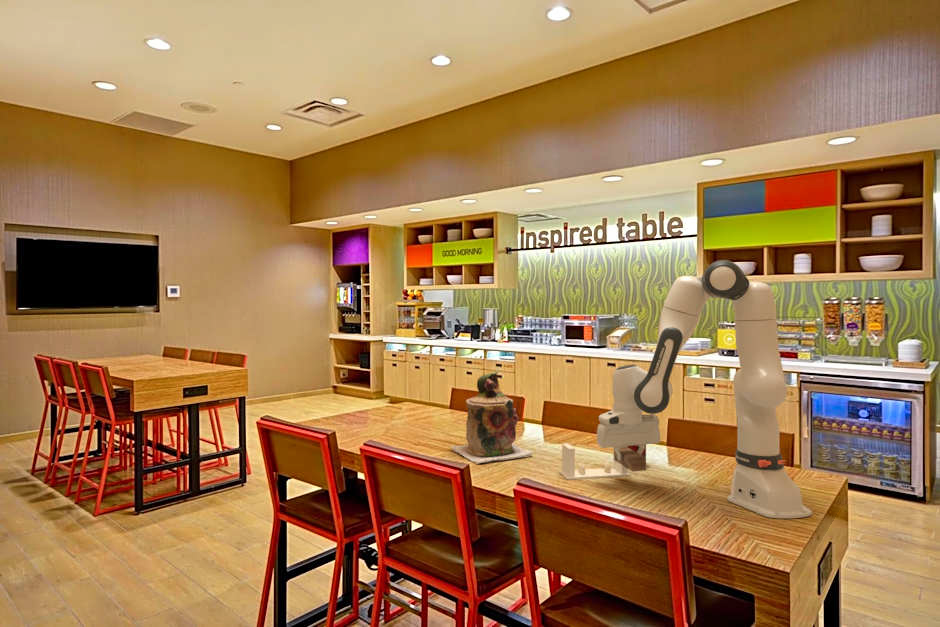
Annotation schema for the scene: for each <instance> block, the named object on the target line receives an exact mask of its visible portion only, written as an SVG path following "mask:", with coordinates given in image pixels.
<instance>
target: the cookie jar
mask: <svg viewBox="0 0 940 627" xmlns="http://www.w3.org/2000/svg"><path fill="white" fill-rule="evenodd" d="M497 374H498V370H497V369H496V370H495V371H494V372H491V373H486V374H484V375H481V376H479V377H478V379H477V381H476V389H477V391H478V394H477V395H476V396H474V397H471V398H467V399H466V400H465V405H466V407H467V408H468V409H467V420H466V424H465V426H466V427H465V428H466V431H465V432H466V434H465V437H466V438H465V440H466V442H467V444H461V445H453V446H450V447H451V448H450V449H451V450H452V451H453V452H455V453H456V454H457V453H458V454H459V455H460V456H461V455H462V456H461V457H463V456H464V457H463V458H465V459H466V460H469V461H470V462H472V463H474V462H475V463H474V464H476V463H477V464H476V465H479V464H481V463H484V464H485V463H488V462H489V463H490V462H493V461H505V460H513V459H520V458H529V457H531V456H532V454H533V453H534V451H533V450H532V449H531V450H530V449H525V448H522V447H520V446H517V445H516V444H515V443H514V442H515V440H516V435H517V431H516V426H517V424H518V422H519V417H518V414H517V408H516V407H514V399H512V398H509V397H508V396H507V395H506V394H505V393H504V392H502V390H501V388H500V384H499V379H498V375H497Z"/></svg>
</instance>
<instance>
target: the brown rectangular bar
mask: <svg viewBox="0 0 940 627" xmlns="http://www.w3.org/2000/svg"><path fill="white" fill-rule="evenodd" d="M619 452H620V453H621V454H623V455H624V460H620V461H619V460H618V458H617V453H616V452H615V450H614V449H613V461H614V460H615V461H617V462H618V463H620V464H621V465H623V466H624V467H626V468H628V470H629V471H631V472H641V471H642V472H643V471H644V472H645V471H647V456H646V457H644V456H642V455H640V454H639V453H637V452H635V451H633V450H632V449H630V448H628V447H620V450H619Z"/></svg>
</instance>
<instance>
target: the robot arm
mask: <svg viewBox="0 0 940 627" xmlns="http://www.w3.org/2000/svg"><path fill="white" fill-rule="evenodd" d="M712 298H714V299H715V298H717V299H727V300H729V301H731V303H732V305H733V312H734V330H735V331H734V333H735V347H736V348H735V349H736V351H737V355H738V360H739V367H740V368H739V369H738V370H736V371H735V374H734V375H733V379H732V380H733V382H732V384H733V391H734V405H735V412H736V413H735V414H736V421H737V448H736V449H735V462H736V466H735V469H734V470H733V472H732V479H731V491H730V495H728V496H727V501H728V502H730V503H732V504H735V505H737V506H740V507H741V508H745V509H747V510H750V511H751V512H754V513H756V514H758V515H762V516H764V517H766V518H771V519H798V518H806V517H810V516H812V514H813V512H812V510H811V509H810V508H809V507H807V506H806V505H804V504H803V499H802V493H801V490H800V487H799V485H798V484H796V483H795V481H793V480H792V478H791V476H790V475H789V474H788V473H787V471H786V470H785V465H787V463H786V462H787V460H786V459H783V457H782V453H781V452H780V437H781V436H780V430H781V428H780V424H779V420H778V419H779V418H778V415H777V410H776V409H777V408H776V407H779V406H780V405H783V403H784V401H785V400H787V397H788V386H787V383H786V380H785V374H784V369H783V362H782V360H781V355H780V354H781V353H780V348H779V340H778V321H777V318H778V317H777V310H776V309H777V308H776V307H777V306H776V301H775V298H774V293H773V290H772V287H771V286H769V284H767V283H765V282H761V281H750V279H748V277H747V275H746V274H745V273H744V271H743V270H742V268H741V267H740V266H739V265H738V264H737V263H735V262H733V261H731V260H727V259H721V260H716V261H713V262H712V263H711V264H709V265H708V266H707V267H706V269H705V271H704V272H703V273H702V274H701V275H700V276H694V275H683V276H679V277H677V278H676V279H675V281H674V282H673V284H672V286H671V287H670V289H669V291H668V293H667V296H666V298H665V301H664V304H663V307H662V310H661V314H660V318H659V324H658V334H657V343H656V348H655V351H654V354H653V357H652V360H651V362H650V364H649V368H648V371H647V370H645V369H643V368H641V367H639V366H638V365H637V364H626V365H621V366H619V367H617V368H616V369H615V370H614V371H613V374H612V390H611V391H612V395H613V405H612V406H613V407H612V409H611V410H609V411H607V412H605V413H601V414H600V415H599V416H598V421H599V422H600V423H599V424H597V425H598V426H597V428H596V444H597V445H598V446H599V447H601V448H602V449H607V448H613V451H614V450H615V452H616V453H617V458H618V460H619V461H620V460H624V455H623V454H621V453H620V452H619V450H620V447H621V446H633V445H638V447H639V449H638V451H637V453H639V454H640V455H642V452H643V450H644V448H645V444H646V445H657V444H659V443H660V442H661V441H662V440H661V439H662V438H661V431H660V427H659V426H660V418H659V417H658V415H656V414H658V413H662V412H663V411H664V410H666V409H667V407H668V405H669V402H670V399H671V398H672V395H673V386H672V383H671V382H670V378H671V376H672V372H673V370H674V366H675V362H676V360H677V357H678V355H679V353H680V351H681V350H682V348H683V347H684V346H685V344H686V343H687V342H688V341H689V340H690V338H691V337H692V335H693V334H694V331H695V330H696V328H697V326H698V324H699V321H700V319H701V315H702V312H703V309H704V306H705V304H706V303H707V301H709V299H712ZM643 412H644V413H646V414H643Z"/></svg>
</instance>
